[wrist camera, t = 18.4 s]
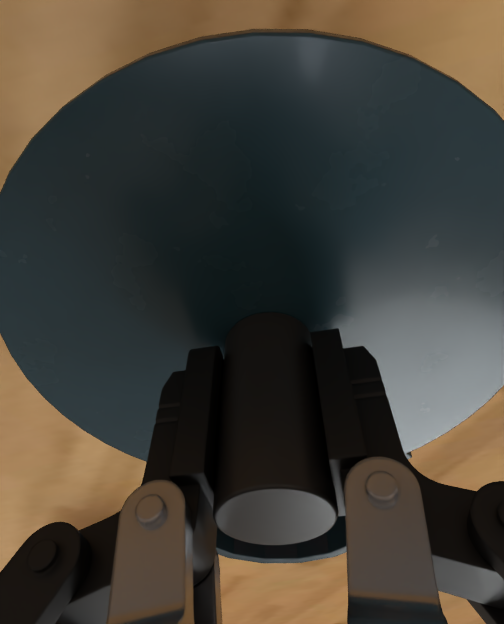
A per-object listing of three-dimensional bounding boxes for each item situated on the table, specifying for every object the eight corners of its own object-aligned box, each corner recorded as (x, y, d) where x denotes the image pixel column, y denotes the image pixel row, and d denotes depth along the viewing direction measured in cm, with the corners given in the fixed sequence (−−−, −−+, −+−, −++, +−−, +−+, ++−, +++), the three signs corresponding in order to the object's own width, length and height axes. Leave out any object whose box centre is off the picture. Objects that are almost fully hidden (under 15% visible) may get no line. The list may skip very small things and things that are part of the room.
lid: (-72, 333, 13) (-242, 532, 9) (242, -226, 6) (209, -679, 2) (276, 495, 19) (283, 661, 15) (630, 303, 12) (846, 505, 8)
